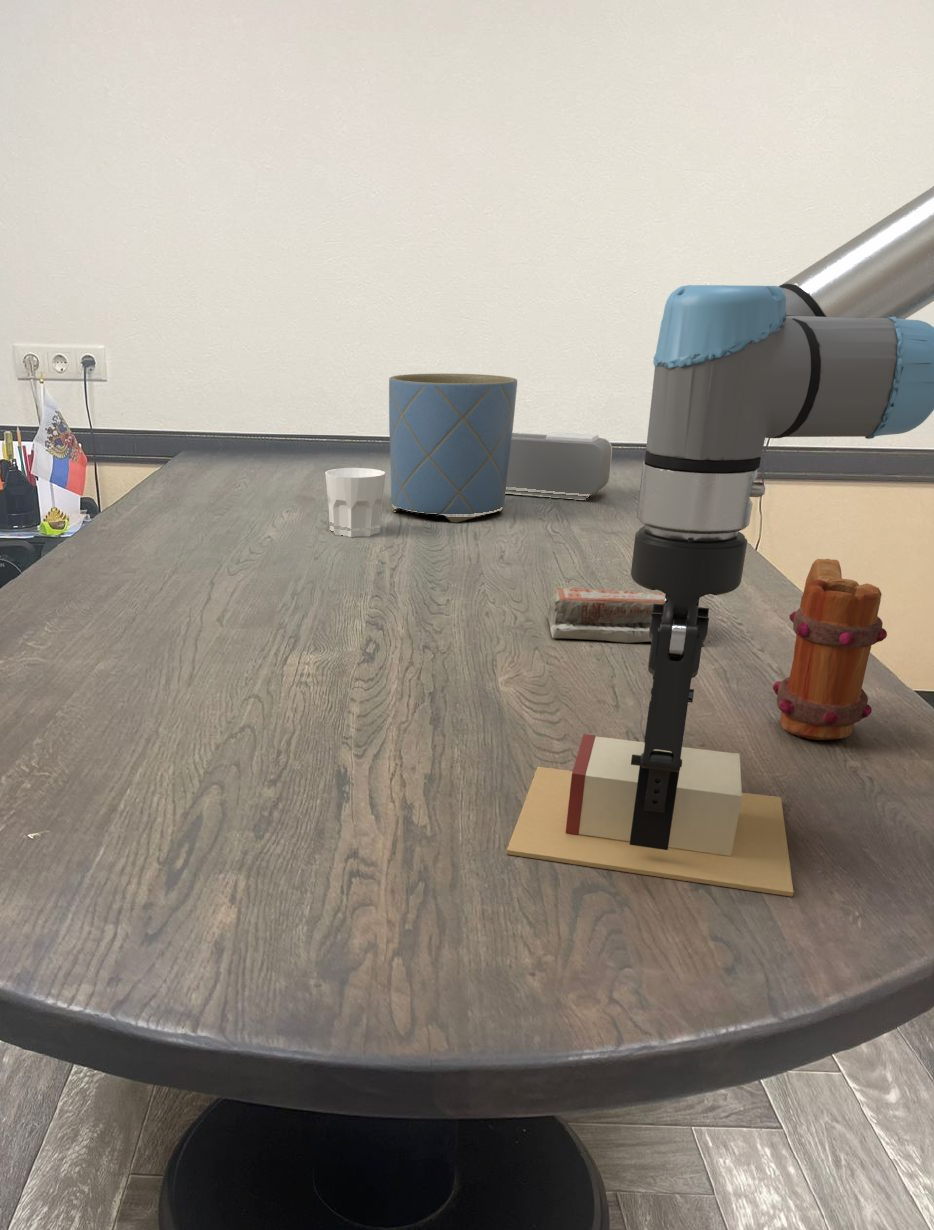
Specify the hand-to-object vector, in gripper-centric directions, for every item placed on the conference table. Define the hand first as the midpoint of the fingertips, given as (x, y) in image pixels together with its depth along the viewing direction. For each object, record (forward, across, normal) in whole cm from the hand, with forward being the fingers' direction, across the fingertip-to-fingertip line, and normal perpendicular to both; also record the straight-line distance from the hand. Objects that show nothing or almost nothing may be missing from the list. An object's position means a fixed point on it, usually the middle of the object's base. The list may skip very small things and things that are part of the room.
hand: (652, 809), depth 84 cm
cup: (+2, +98, +54) cm, 112 cm away
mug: (+2, +28, -14) cm, 31 cm away
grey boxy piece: (+2, +53, +6) cm, 53 cm away
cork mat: (+1, 0, 0) cm, 1 cm away
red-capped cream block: (+1, 0, 0) cm, 1 cm away
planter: (+2, +121, +43) cm, 128 cm away
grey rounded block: (+2, +146, +30) cm, 149 cm away
